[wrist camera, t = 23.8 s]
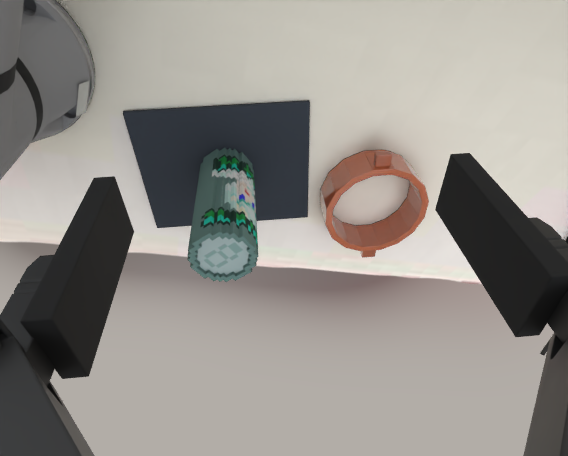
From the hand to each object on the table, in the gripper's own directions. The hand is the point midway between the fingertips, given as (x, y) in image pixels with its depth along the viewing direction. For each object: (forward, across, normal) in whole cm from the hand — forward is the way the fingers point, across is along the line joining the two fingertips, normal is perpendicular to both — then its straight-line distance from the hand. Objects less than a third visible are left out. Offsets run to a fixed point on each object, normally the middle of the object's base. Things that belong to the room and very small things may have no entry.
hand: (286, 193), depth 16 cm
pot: (+29, +13, -21) cm, 38 cm away
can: (+28, -5, -16) cm, 33 cm away
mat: (+29, -5, -16) cm, 33 cm away
